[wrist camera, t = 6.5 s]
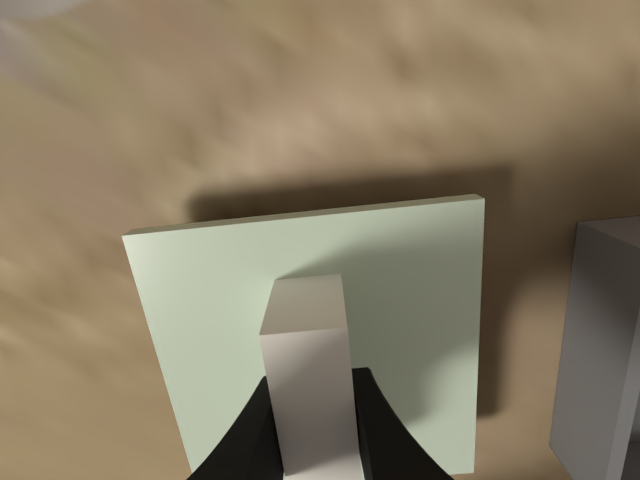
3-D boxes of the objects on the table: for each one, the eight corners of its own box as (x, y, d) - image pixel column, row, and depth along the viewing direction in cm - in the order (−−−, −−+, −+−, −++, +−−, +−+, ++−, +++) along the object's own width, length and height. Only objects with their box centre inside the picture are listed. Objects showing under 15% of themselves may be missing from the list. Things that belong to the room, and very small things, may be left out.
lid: (459, 438, 18) (512, 564, 13) (209, 458, 18) (167, 587, 13) (464, 188, 14) (545, 230, 9) (145, 221, 14) (50, 279, 9)
